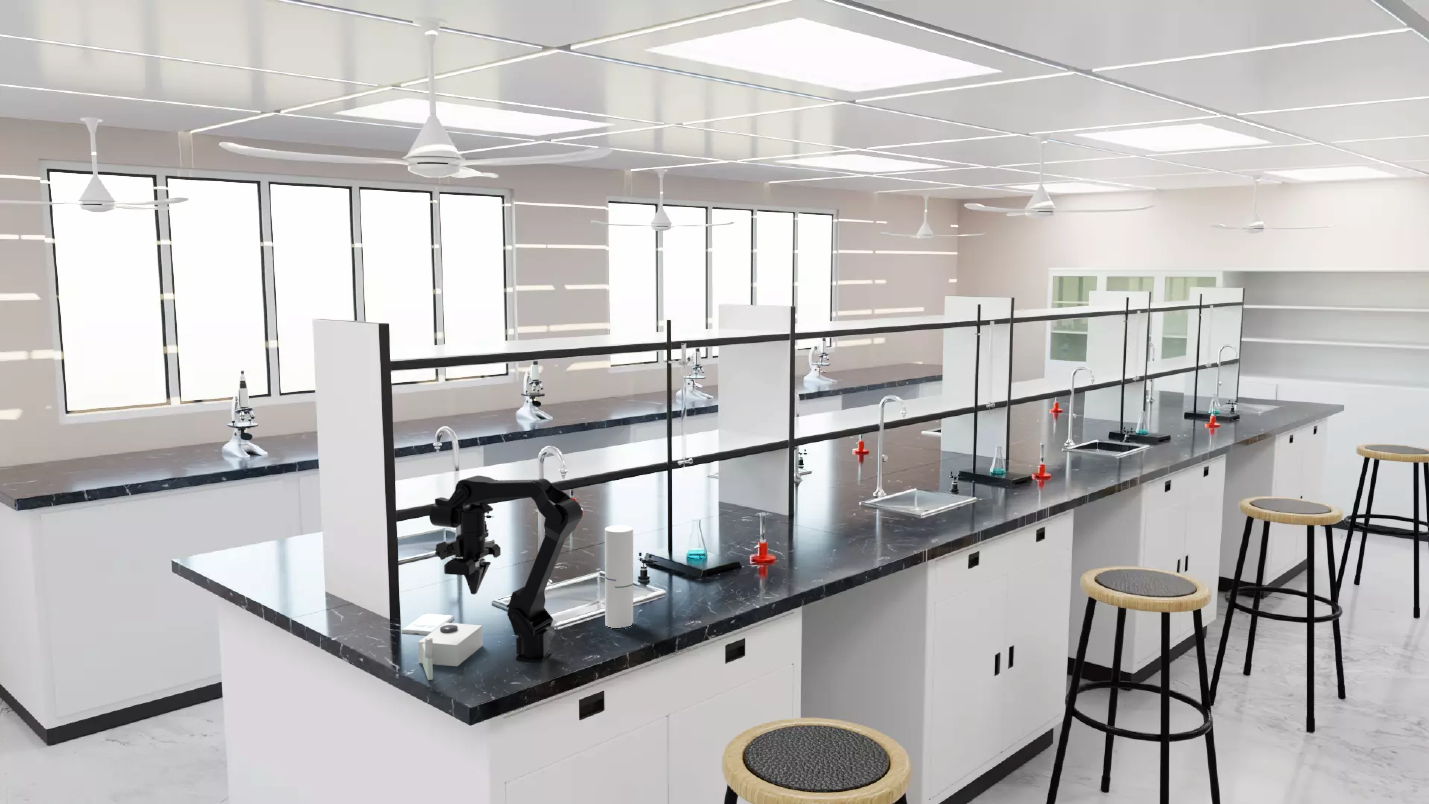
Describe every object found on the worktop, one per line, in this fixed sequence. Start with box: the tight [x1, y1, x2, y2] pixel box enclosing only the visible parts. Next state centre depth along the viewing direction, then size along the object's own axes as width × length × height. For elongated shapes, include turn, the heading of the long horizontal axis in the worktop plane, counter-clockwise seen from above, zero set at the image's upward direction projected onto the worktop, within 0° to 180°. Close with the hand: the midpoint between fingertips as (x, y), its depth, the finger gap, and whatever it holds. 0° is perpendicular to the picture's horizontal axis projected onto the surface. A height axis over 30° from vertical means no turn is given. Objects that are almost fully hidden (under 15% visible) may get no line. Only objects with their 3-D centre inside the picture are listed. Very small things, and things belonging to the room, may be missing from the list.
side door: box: [421, 638, 434, 681], centre depth 223 cm, size 10×2×9 cm, turn 23°
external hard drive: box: [401, 613, 455, 636], centre depth 255 cm, size 2×8×12 cm
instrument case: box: [417, 622, 484, 667], centre depth 235 cm, size 10×14×6 cm
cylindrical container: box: [604, 524, 634, 629], centre depth 256 cm, size 7×7×25 cm
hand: (474, 593), depth 239 cm, fingers closed
